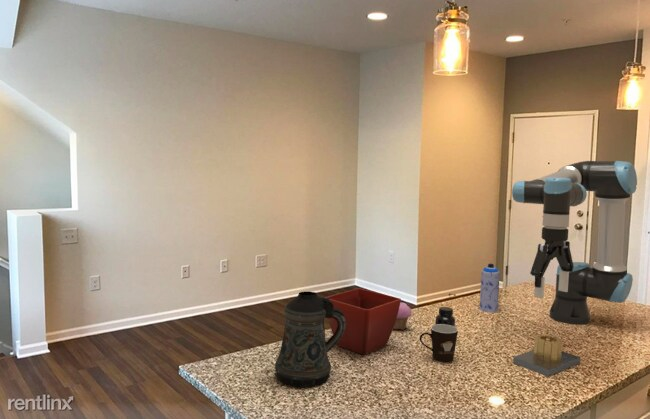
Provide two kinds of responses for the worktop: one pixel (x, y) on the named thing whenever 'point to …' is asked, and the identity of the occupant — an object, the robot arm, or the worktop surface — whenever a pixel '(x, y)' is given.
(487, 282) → the aerosol can
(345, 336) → the plant pot
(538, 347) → the ring
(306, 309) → the beer stein
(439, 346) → the coffee mug
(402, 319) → the cupcake
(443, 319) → the supplement bottle
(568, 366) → the shaft stand
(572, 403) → the worktop surface
